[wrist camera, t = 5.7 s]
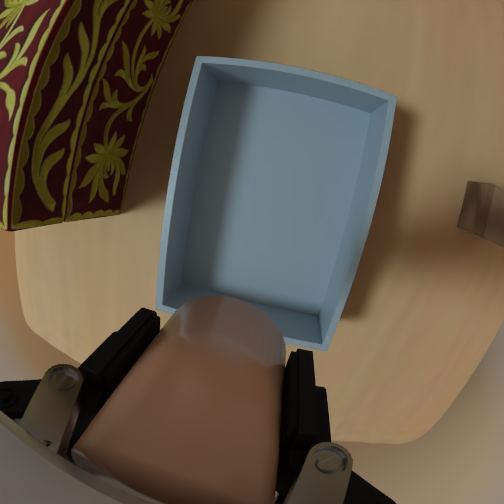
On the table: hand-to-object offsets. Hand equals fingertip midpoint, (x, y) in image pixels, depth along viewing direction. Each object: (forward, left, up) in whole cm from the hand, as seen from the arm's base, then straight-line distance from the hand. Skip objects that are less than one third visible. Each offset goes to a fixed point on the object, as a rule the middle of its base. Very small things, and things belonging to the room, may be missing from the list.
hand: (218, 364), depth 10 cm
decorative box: (-14, -23, -18) cm, 32 cm away
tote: (-4, 0, -17) cm, 18 cm away
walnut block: (-9, +22, -17) cm, 30 cm away
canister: (0, 0, -1) cm, 1 cm away
